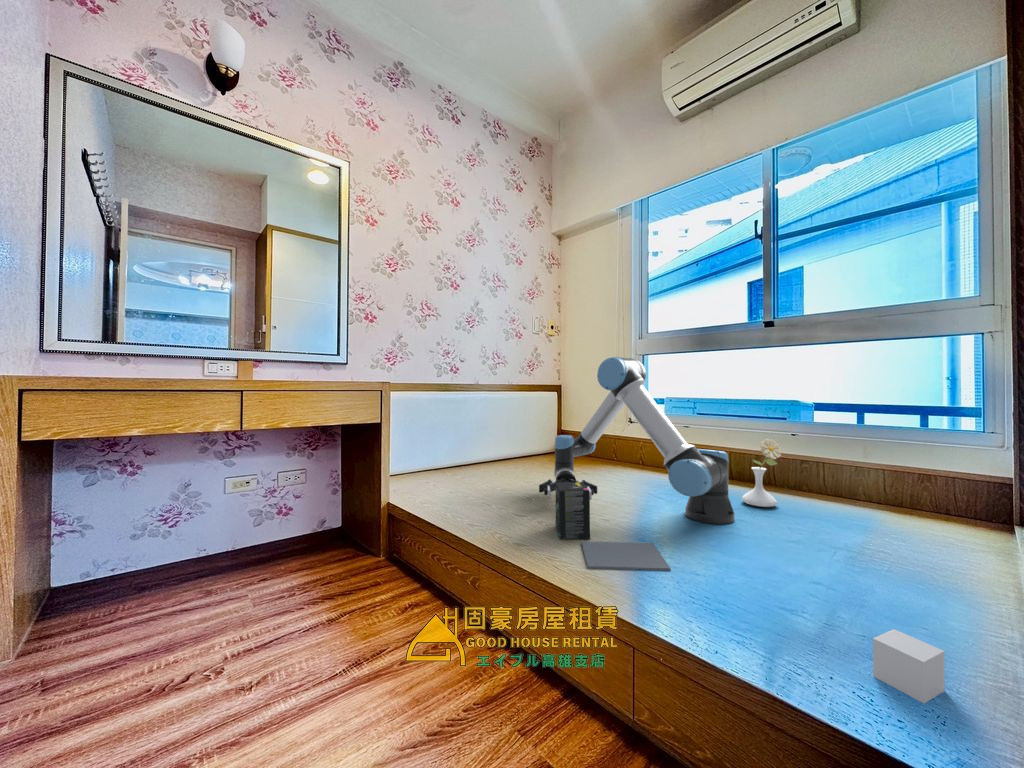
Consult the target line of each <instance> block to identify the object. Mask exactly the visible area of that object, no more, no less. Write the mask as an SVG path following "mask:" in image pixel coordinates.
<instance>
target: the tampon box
mask: <svg viewBox="0 0 1024 768" xmlns="http://www.w3.org/2000/svg"><path fill="white" fill-rule="evenodd" d="M590 501H591V500H590V494H589V490H588V488H587V487H586V486H585V484H584V483H583V482H581V481H578V482H556V490H555V530H556V533H557V535H558V538H559V540H591V517H590V516H591V511H590V509H591V508H590V507H591V503H590Z"/></svg>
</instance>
